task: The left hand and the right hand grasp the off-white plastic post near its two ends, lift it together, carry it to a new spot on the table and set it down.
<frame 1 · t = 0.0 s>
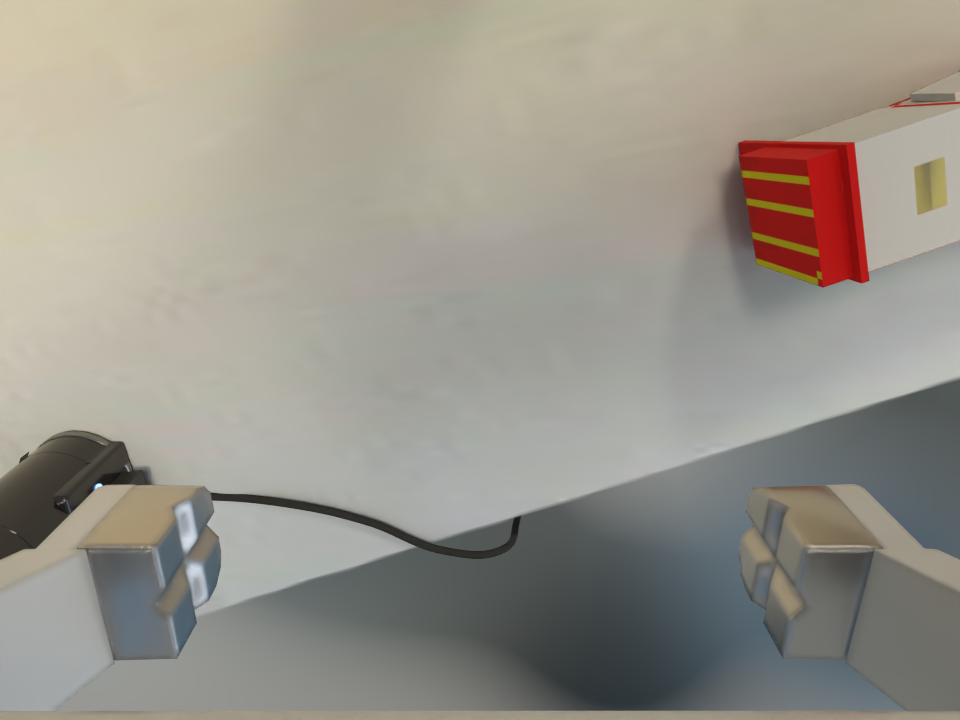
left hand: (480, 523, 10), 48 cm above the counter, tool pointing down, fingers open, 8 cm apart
toy: (914, 144, 54), on the counter
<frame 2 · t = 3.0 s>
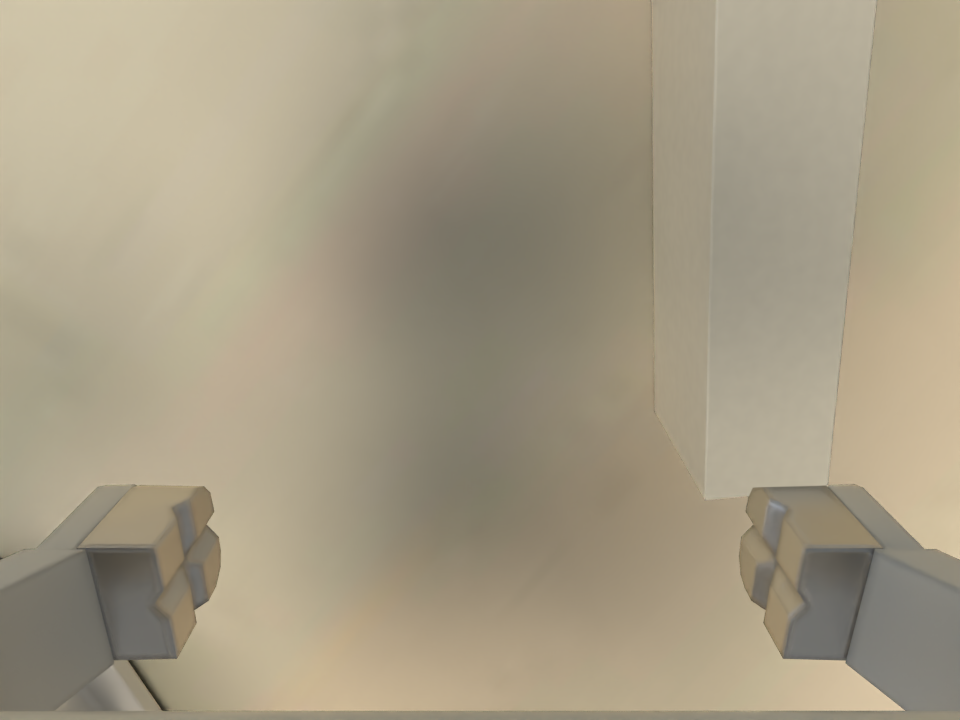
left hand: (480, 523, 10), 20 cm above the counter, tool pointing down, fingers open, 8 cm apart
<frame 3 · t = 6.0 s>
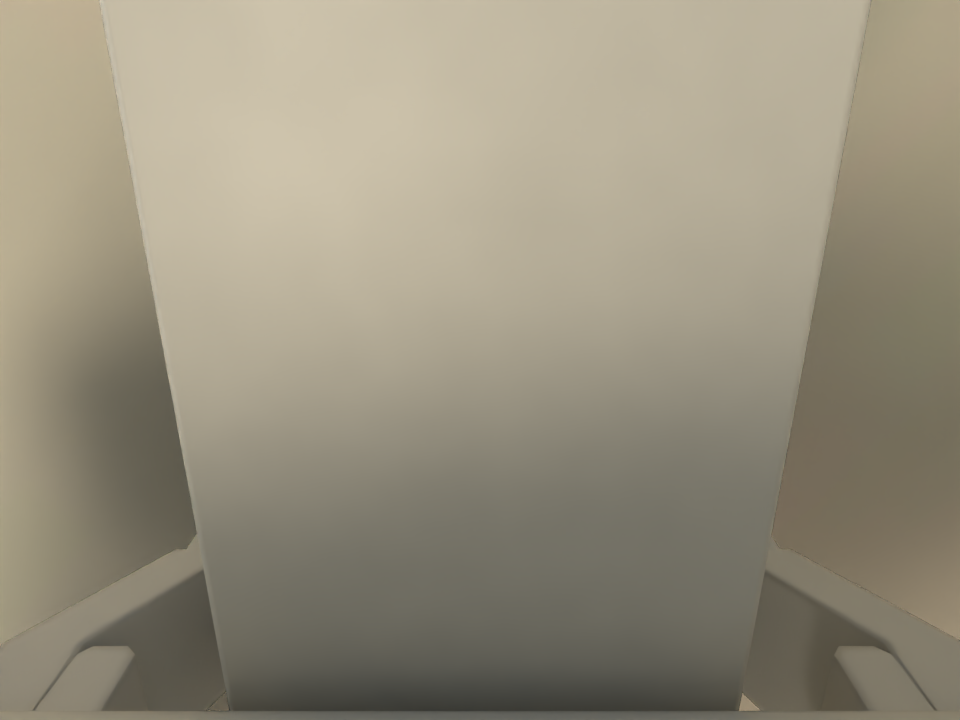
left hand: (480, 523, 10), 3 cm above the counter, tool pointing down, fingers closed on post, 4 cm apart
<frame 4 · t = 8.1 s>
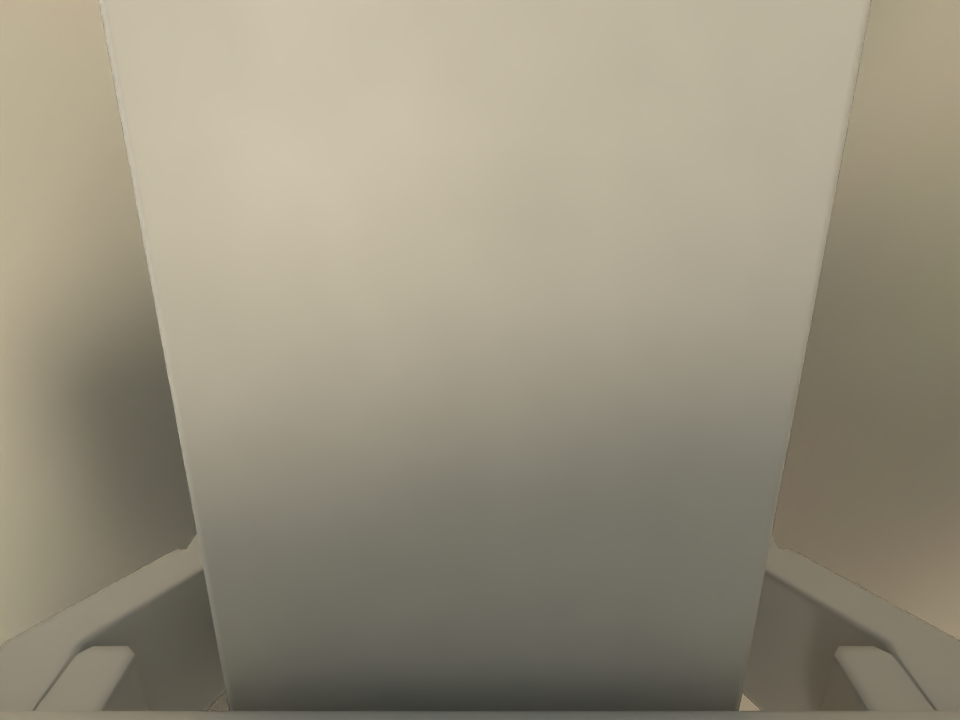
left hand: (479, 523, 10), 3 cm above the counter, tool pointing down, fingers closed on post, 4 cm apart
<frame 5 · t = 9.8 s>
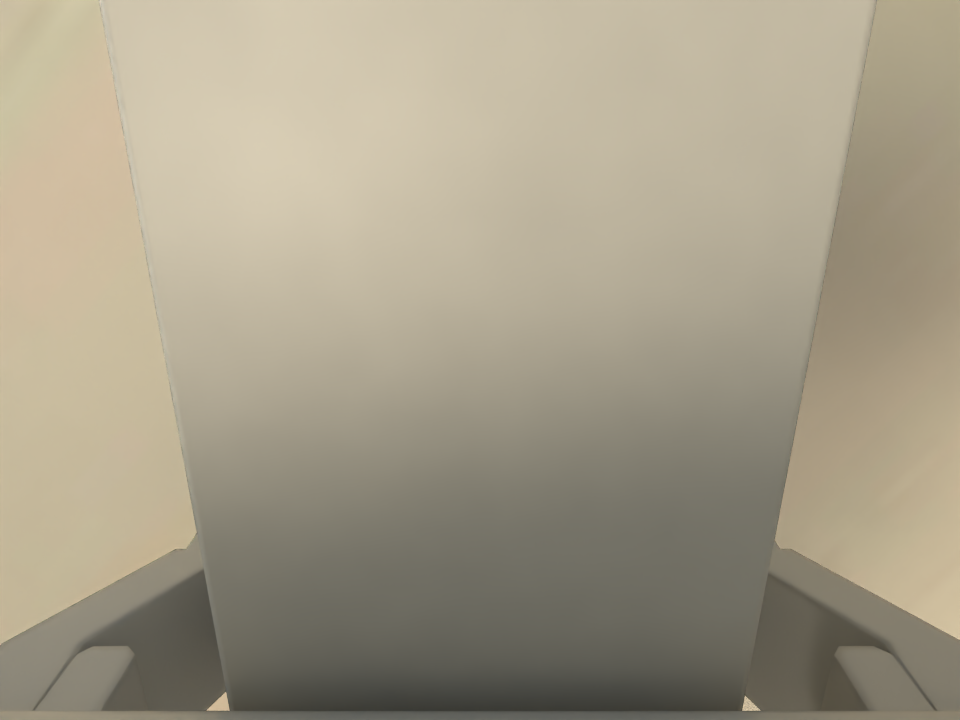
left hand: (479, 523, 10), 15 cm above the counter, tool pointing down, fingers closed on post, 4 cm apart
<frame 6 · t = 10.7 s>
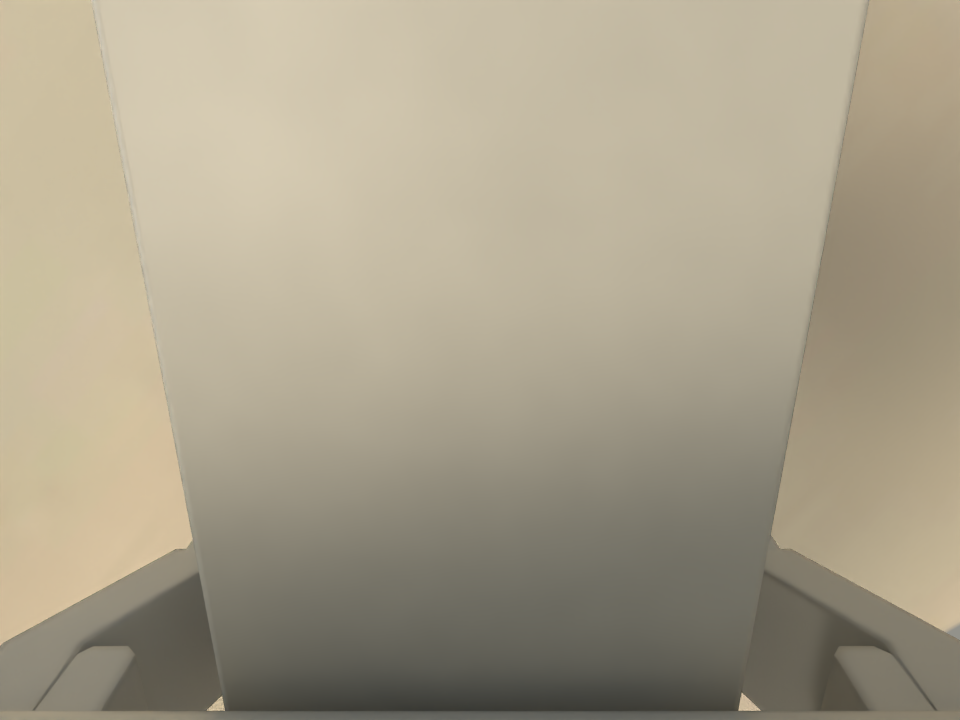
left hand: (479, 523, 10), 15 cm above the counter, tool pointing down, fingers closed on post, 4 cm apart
when the left hand's fingers open (4 cm above the counter, at t = 13.6 s): post stays where it is, on the counter.
when the right hand's fingers open (4 cm above the counter, at t = 13.6 s): post stays where it is, on the counter.
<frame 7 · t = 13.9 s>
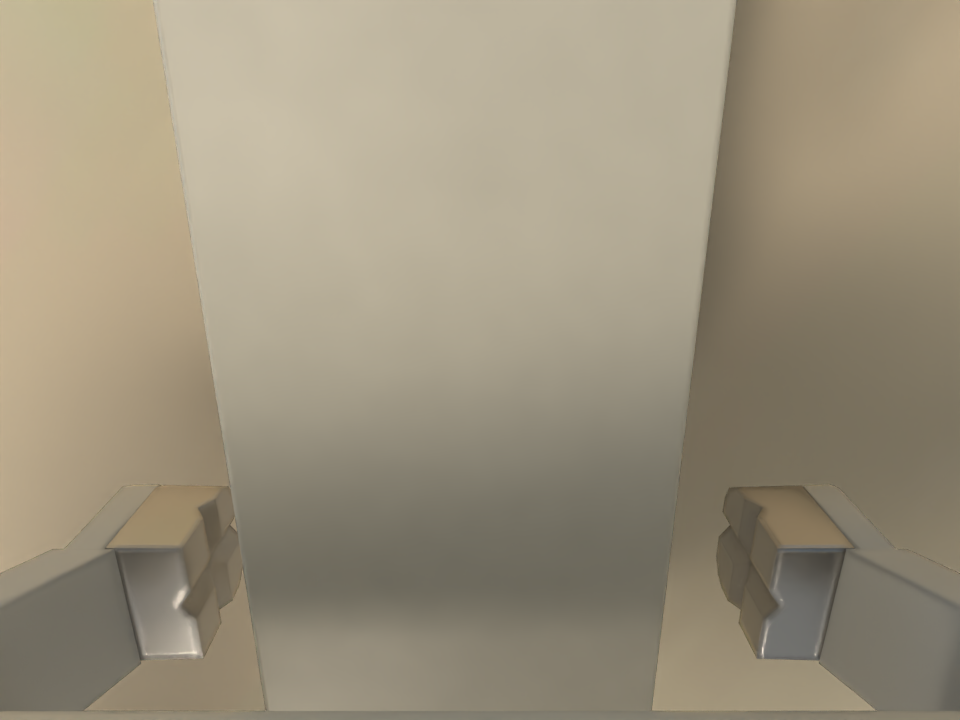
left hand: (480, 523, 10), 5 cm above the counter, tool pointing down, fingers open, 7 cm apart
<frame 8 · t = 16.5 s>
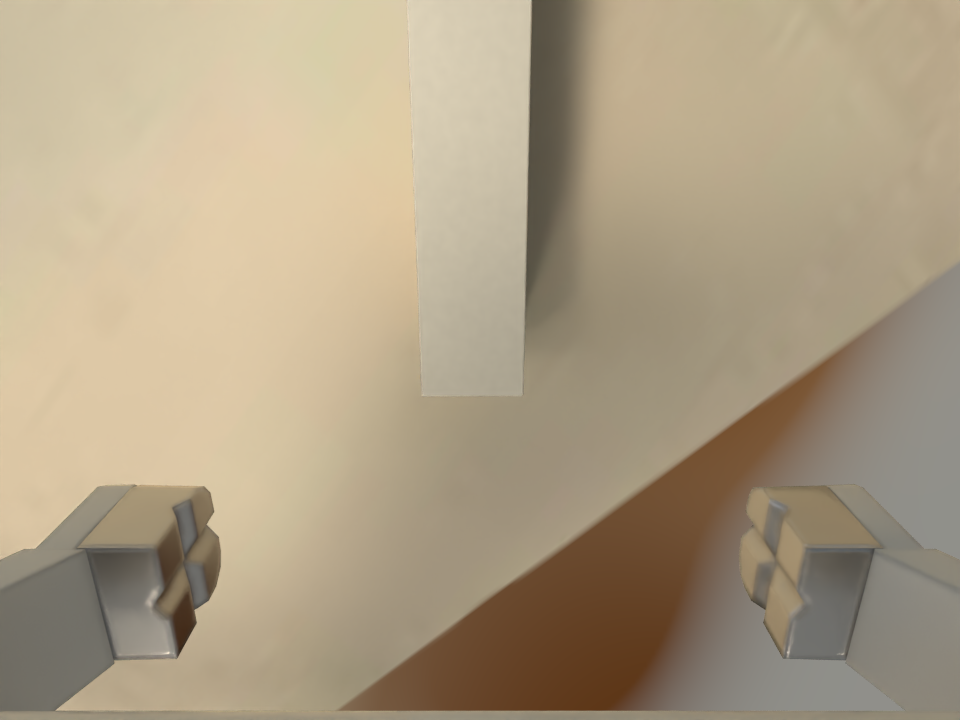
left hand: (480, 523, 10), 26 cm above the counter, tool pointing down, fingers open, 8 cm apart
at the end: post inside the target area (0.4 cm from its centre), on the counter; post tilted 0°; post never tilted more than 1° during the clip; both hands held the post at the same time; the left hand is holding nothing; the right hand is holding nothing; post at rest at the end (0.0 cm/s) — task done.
